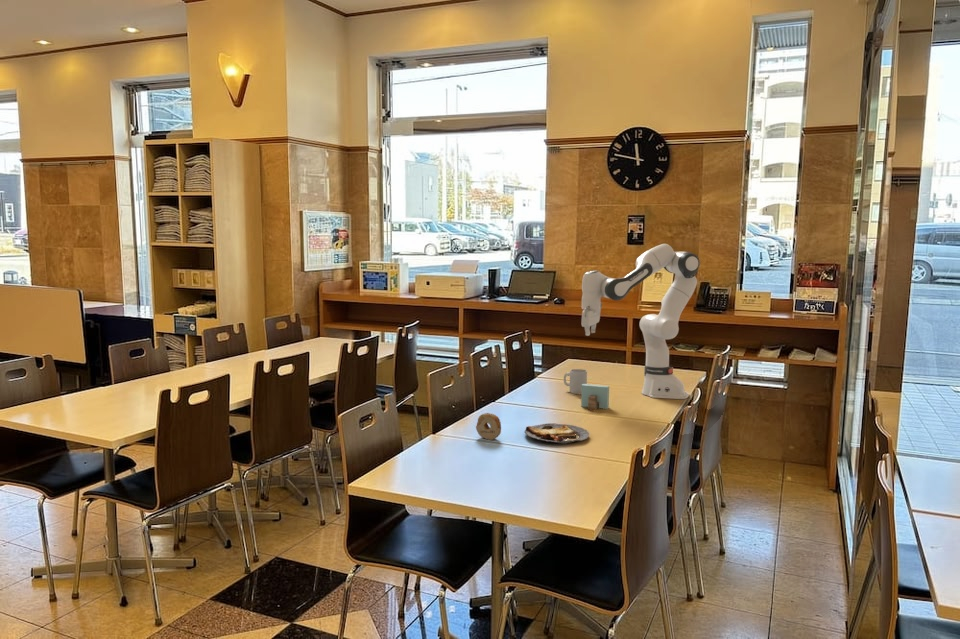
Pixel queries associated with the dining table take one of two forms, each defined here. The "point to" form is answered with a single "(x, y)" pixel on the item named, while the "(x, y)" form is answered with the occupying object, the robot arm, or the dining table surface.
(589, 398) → the brown notched block
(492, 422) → the stone disc
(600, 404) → the teal notched block
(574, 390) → the mug
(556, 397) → the dining table surface
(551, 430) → the food plate
